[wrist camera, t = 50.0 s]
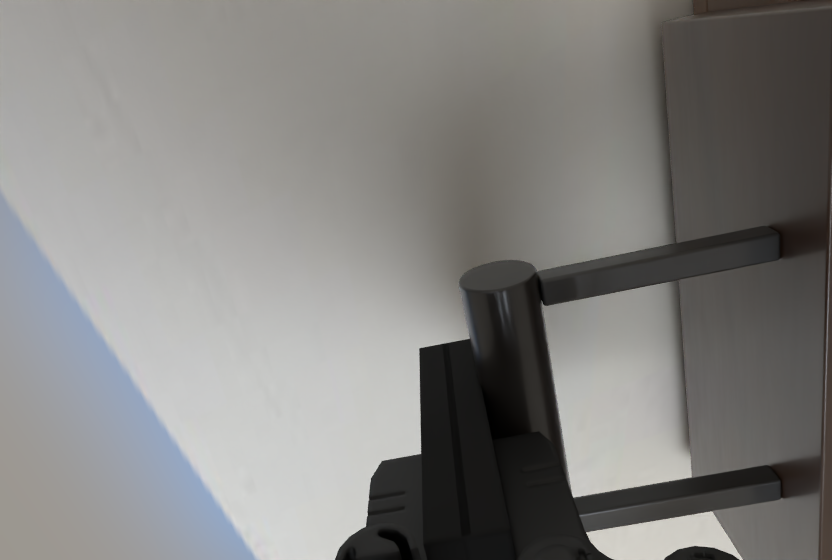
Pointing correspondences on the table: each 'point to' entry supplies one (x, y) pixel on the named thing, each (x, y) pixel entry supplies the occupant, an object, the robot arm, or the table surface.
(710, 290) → the drawer
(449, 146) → the table surface
